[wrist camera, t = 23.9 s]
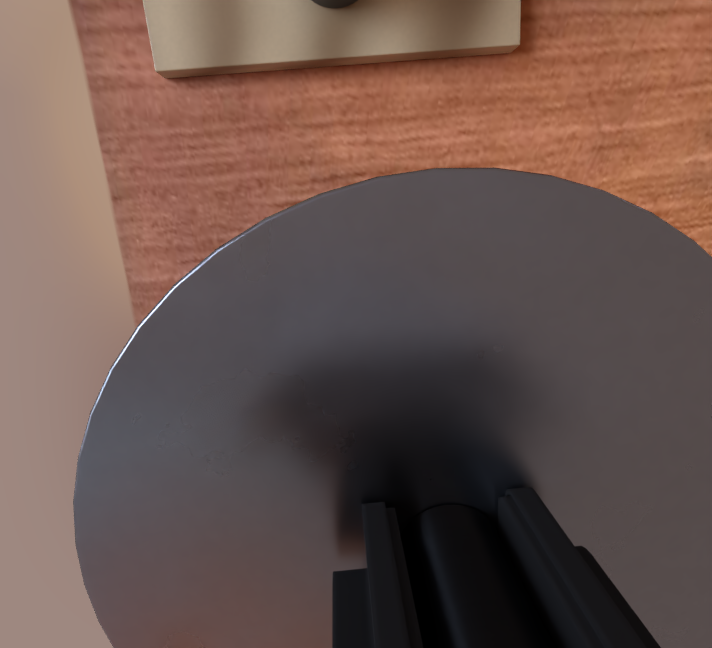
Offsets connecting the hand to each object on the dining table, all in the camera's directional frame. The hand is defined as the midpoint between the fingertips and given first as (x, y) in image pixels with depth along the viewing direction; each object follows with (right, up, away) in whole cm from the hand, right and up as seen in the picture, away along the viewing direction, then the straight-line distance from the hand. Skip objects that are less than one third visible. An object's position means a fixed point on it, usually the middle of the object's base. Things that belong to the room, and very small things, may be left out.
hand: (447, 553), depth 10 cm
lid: (0, 0, +1) cm, 1 cm away
